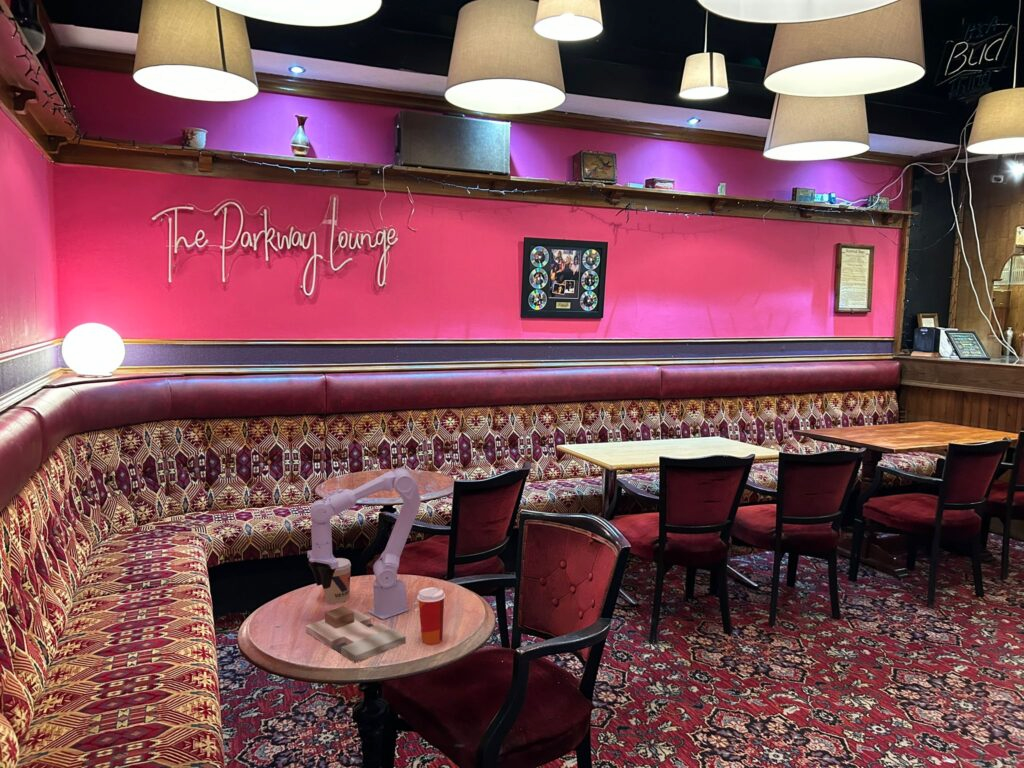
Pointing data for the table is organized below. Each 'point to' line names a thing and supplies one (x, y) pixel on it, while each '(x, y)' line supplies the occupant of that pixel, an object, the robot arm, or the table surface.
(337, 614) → the walnut block
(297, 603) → the table surface
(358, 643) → the board
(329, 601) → the coffee cup
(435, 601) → the paper cup
